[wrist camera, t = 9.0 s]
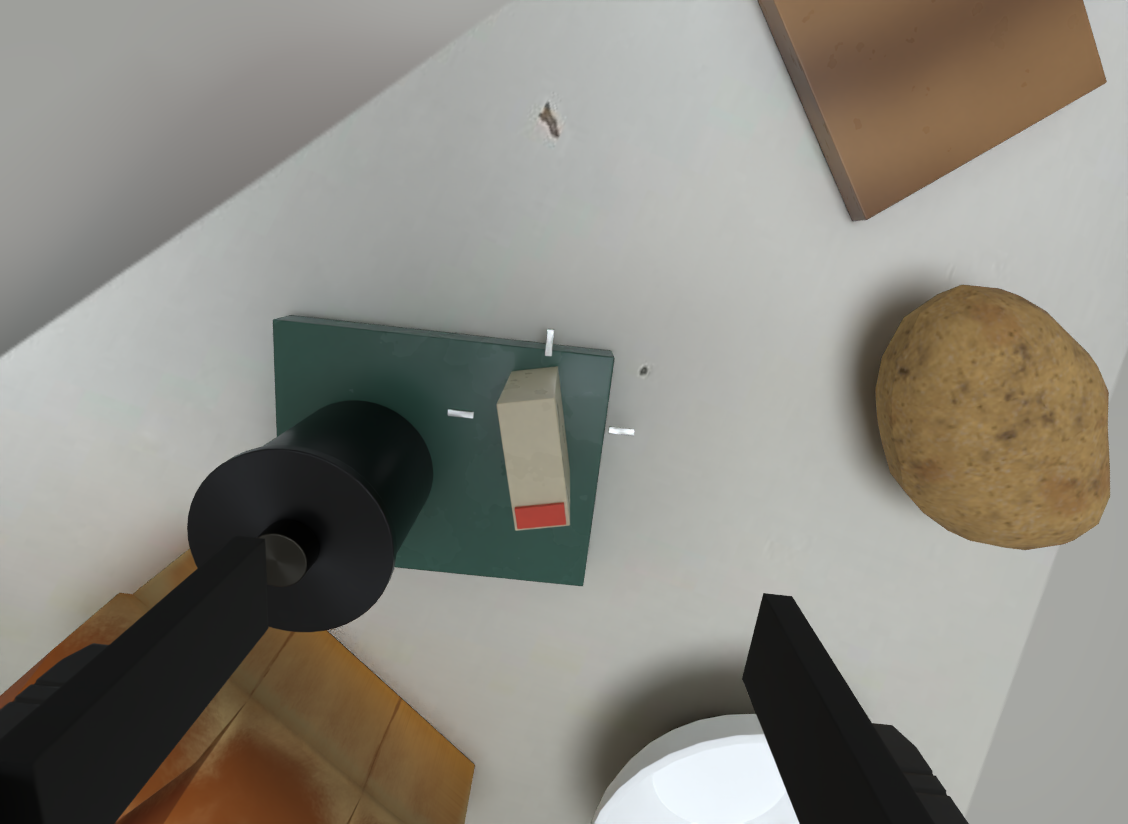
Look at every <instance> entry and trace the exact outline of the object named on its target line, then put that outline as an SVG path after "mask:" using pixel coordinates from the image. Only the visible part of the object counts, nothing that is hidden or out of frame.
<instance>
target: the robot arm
mask: <svg viewBox="0 0 1128 824" xmlns="http://www.w3.org/2000/svg"><path fill="white" fill-rule="evenodd" d="M267 630H268V600H267V573H266V546H265V539H263V538H254V537H245V536H234V537H233V538H232V539H231V540H230V541H229V542H227V543H226V544H225V545H224V546H223V547H222V548H221V549H219V550H218V551H217V552H216V553H215V554H214V555H212V556H211V557H210V558H209V559H208V560H207V561H206V562H204V563H203V564H202V565H201V566H200V567H199V568H197V569H196V570H195V571H194V572H193V573H192V574H190V575H189V576H188V577H187V578H186V579H185V580H184V581H182V582H181V583H180V584H179V585H178V586H177V587H175V588H174V589H173V590H172V591H171V592H170V593H169V594H167V595H166V596H165V597H164V598H163V599H162V600H160V601H159V602H158V603H157V604H156V605H155V606H154V607H152V608H151V609H150V610H149V611H148V612H147V613H145V614H144V615H143V616H142V617H141V618H140V619H138V620H137V621H136V622H135V623H134V624H133V625H132V626H130V627H129V628H128V629H127V630H126V631H125V632H123V633H122V634H121V635H120V636H119V637H118V638H117V639H115V640H114V641H113V642H112V643H111V644H110V645H106V644H96V643H92V644H90V645H88V646H87V647H85V648H83V649H81V650H79V651H77V652H75V653H73V654H71V655H69V656H67V657H65V658H63V659H62V660H60V661H59V662H58V663H57V664H55V665H54V666H53V667H52V668H50V669H49V670H48V671H47V672H45V673H44V674H43V675H42V676H41V677H39V678H38V679H37V680H36V682H35V684H34V685H33V684H31V685H29V686H28V687H27V688H26V689H25V690H23V691H22V692H21V693H20V694H18V695H17V696H16V697H15V699H14V701H13V702H9V703H7V704H6V705H5V706H4V707H2V708H1V709H0V824H115V822H116V821H117V820H118V818H119V817H120V816H121V815H122V813H123V812H124V811H125V810H126V808H127V807H128V806H129V805H130V803H131V802H132V801H133V799H134V798H135V797H136V796H137V794H138V793H139V792H140V791H141V789H142V788H143V787H144V786H145V784H146V783H147V782H148V780H149V779H150V778H151V777H152V775H153V774H154V773H155V772H156V770H157V769H158V768H159V767H160V765H161V764H162V763H163V761H164V760H165V759H166V758H167V756H168V755H169V754H170V753H171V751H172V750H173V749H174V748H175V746H176V745H177V744H178V742H179V741H180V740H181V739H182V737H183V736H184V735H185V734H186V732H187V731H188V730H189V729H190V727H191V726H192V725H193V723H194V722H195V721H196V720H197V718H198V717H199V716H200V715H201V713H202V712H203V711H204V710H205V708H206V707H207V706H208V704H209V703H210V702H211V701H212V699H213V698H214V697H215V696H216V694H217V693H218V692H219V691H220V689H221V688H222V687H223V685H224V684H225V683H226V682H227V680H228V679H229V678H230V677H231V675H232V674H233V673H234V672H235V670H236V669H237V668H238V666H239V665H240V664H241V663H242V661H243V660H244V659H245V658H246V656H247V655H248V654H249V653H250V651H251V650H252V649H253V647H254V646H255V645H256V644H257V642H258V641H259V640H260V639H261V637H262V636H263V635H264V634H265V632H266V631H267ZM742 680H743V682H744V685H745V687H746V690H747V692H748V695H749V697H750V700H751V702H752V705H753V707H754V710H755V712H756V715H757V718H758V720H759V723H760V725H761V728H762V730H763V733H764V735H765V738H766V740H767V743H768V745H769V748H770V750H771V753H772V756H773V758H774V761H775V763H776V766H777V768H778V771H779V773H780V776H781V778H782V781H783V783H784V786H785V788H786V791H787V794H788V796H789V799H790V801H791V804H792V806H793V809H794V811H795V814H796V816H797V819H798V821H799V824H968V822H967V821H966V819H965V818H964V816H963V815H962V813H961V812H960V810H959V809H958V808H957V806H956V805H955V803H954V802H953V800H952V799H951V797H950V796H947V795H946V790H945V789H944V787H943V786H942V784H941V783H940V781H939V780H938V778H937V777H936V776H933V774H932V770H931V768H930V767H929V765H928V764H927V762H926V761H925V760H924V758H923V757H922V755H921V754H920V752H919V751H918V749H917V748H916V747H915V746H914V745H913V744H912V743H911V742H910V741H909V740H908V739H907V738H905V737H904V736H903V735H902V734H901V733H900V732H899V731H898V730H897V729H896V728H895V727H893V726H892V725H884V724H875V723H871V721H870V720H869V718H868V716H867V715H866V713H865V712H864V710H863V708H862V707H861V705H860V704H859V702H858V701H857V699H856V697H855V696H854V694H853V693H852V691H851V689H850V688H849V686H848V685H847V683H846V681H845V680H844V678H843V677H842V675H841V673H840V672H839V670H838V669H837V667H836V666H835V664H834V662H833V661H832V659H831V658H830V656H829V654H828V653H827V651H826V650H825V648H824V646H823V645H822V643H821V642H820V640H819V639H818V637H817V635H816V634H815V632H814V631H813V629H812V627H811V626H810V624H809V623H808V621H807V619H806V618H805V616H804V615H803V613H802V611H801V610H800V608H799V607H798V605H797V604H796V602H795V600H794V599H793V597H792V596H784V595H775V594H765V593H763V597H762V601H761V605H760V609H759V613H758V617H757V621H756V625H755V629H754V633H753V637H752V641H751V645H750V649H749V653H748V657H747V661H746V665H745V669H744V673H743V677H742Z"/></svg>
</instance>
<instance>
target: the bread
mask: <svg viewBox="0 0 1128 824" xmlns="http://www.w3.org/2000/svg"><path fill="white" fill-rule="evenodd" d="M196 569H197V566H196V564H195V562H194V559H193V556H192V554H191V550H190V549H189V550H187V551H186V552H185V553H184V554H182V555H181V556H180V557H179V558H177V559H176V560H175V561H174V562H172V563H171V564H170V565H169V566H167V567H166V568H165V569H164V570H162V571H161V572H160V573H158V574H157V575H156V576H155V577H153V578H152V579H151V580H150V581H148V582H147V583H146V584H145V585H143V586H142V587H141V588H140V589H138V590H137V591H136V592H135V593H133V594H126V593H119V594H117V595H116V596H115V597H114V598H113V599H112V600H110V601H109V602H108V603H107V604H106V605H105V606H103V607H102V608H101V609H100V610H99V611H98V612H96V613H95V614H94V615H93V616H92V617H90V618H89V619H88V620H87V621H86V622H85V623H83V624H82V625H81V626H80V627H79V628H78V629H76V630H75V631H74V632H73V633H72V634H71V635H69V636H68V637H67V638H66V639H65V640H64V641H62V642H61V643H60V644H59V645H58V646H56V647H55V648H54V649H53V650H52V651H51V652H50V653H48V654H47V655H46V656H45V657H44V658H43V659H42V660H40V661H39V662H38V663H37V664H36V665H35V666H34V667H33V668H31V669H30V670H29V671H28V672H27V673H26V674H25V675H23V676H22V677H21V678H20V679H19V680H18V681H17V682H15V683H14V684H13V685H12V686H11V687H10V688H9V689H8V690H6V691H5V692H4V693H3V694H2V695H1V696H0V709H1V708H2V707H4V706H5V705H6V704H7V703H9V702H13V701H14V699H15V697H16V696H17V695H18V694H20V693H21V692H22V691H23V690H25V689H26V688H27V687H28V686H29V685H31V684H33V685H34V684H35V682H36V680H37V679H38V678H39V677H41V676H42V675H43V674H44V673H45V672H47V671H48V670H49V669H50V668H52V667H53V666H54V665H55V664H57V663H58V662H59V661H60V660H62V659H63V658H65V657H67V656H69V655H71V654H73V653H75V652H77V651H79V650H81V649H83V648H85V647H87V646H88V645H90V644H92V643H96V644H106V645H110V644H111V643H112V642H113V641H114V640H115V639H117V638H118V637H119V636H120V635H121V634H122V633H123V632H125V631H126V630H127V629H128V628H129V627H130V626H132V625H133V624H134V623H135V622H136V621H137V620H138V619H140V618H141V617H142V616H143V615H144V614H145V613H147V612H148V611H149V610H150V609H151V608H152V607H154V606H155V605H156V604H157V603H158V602H159V601H160V600H162V599H163V598H164V597H165V596H166V595H167V594H169V593H170V592H171V591H172V590H173V589H174V588H175V587H177V586H178V585H179V584H180V583H181V582H182V581H184V580H185V579H186V578H187V577H188V576H189V575H190V574H192V573H193V572H194V571H195V570H196ZM474 767H475V765H474V764H473V763H472V762H471V761H470V760H469V759H467V758H466V757H465V756H464V755H463V754H462V753H461V752H460V751H459V750H458V749H456V748H455V747H454V746H453V745H452V744H451V743H450V742H449V741H448V740H447V739H445V738H444V737H443V736H442V735H441V734H440V733H439V732H438V731H437V730H436V729H434V728H433V727H432V726H431V725H430V724H429V723H428V722H427V721H426V720H425V719H423V718H422V717H421V716H420V715H419V714H418V713H417V712H416V711H415V710H414V709H412V708H411V707H410V706H409V705H408V704H407V703H406V702H405V701H404V700H402V699H401V698H400V697H399V696H398V695H397V694H396V693H395V692H394V691H393V690H391V689H390V688H389V687H388V686H387V685H386V684H385V683H384V682H383V681H382V680H380V679H379V678H378V677H377V676H376V675H375V674H374V673H373V672H372V671H371V670H369V669H368V668H367V667H366V666H365V665H364V664H363V663H362V662H361V661H360V660H358V659H357V658H356V657H355V656H354V655H353V654H352V653H351V652H350V651H349V650H347V649H346V648H345V647H344V646H343V645H342V644H341V643H340V642H339V641H337V640H336V639H335V638H334V637H333V636H332V635H331V634H330V633H329V632H328V631H326V630H325V631H318V632H291V631H284V630H279V629H275V628H271V627H268V630H267V631H266V632H265V634H264V635H263V636H262V637H261V639H260V640H259V641H258V642H257V644H256V645H255V646H254V647H253V649H252V650H251V651H250V653H249V654H248V655H247V656H246V658H245V659H244V660H243V661H242V663H241V664H240V665H239V666H238V668H237V669H236V670H235V672H234V673H233V674H232V675H231V677H230V678H229V679H228V680H227V682H226V683H225V684H224V685H223V687H222V688H221V689H220V691H219V692H218V693H217V694H216V696H215V697H214V698H213V699H212V701H211V702H210V703H209V704H208V706H207V707H206V708H205V710H204V711H203V712H202V713H201V715H200V716H199V717H198V718H197V720H196V721H195V722H194V723H193V725H192V726H191V727H190V729H189V730H188V731H187V732H186V734H185V735H184V736H183V737H182V739H181V740H180V741H179V742H178V744H177V745H176V746H175V748H174V749H173V750H172V751H171V753H170V754H169V755H168V756H167V758H166V759H165V760H164V761H163V763H162V764H161V765H160V767H159V768H158V769H157V770H156V772H155V773H154V774H153V775H152V777H151V778H150V779H149V780H148V782H147V783H146V784H145V786H144V787H143V788H142V789H141V791H140V792H139V793H138V794H137V796H136V797H135V798H134V799H133V801H132V802H131V803H130V805H129V806H128V807H127V808H126V810H125V811H124V812H123V813H122V815H121V816H120V817H119V818H118V820H117V821H116V822H115V824H464V823H465V817H466V812H467V806H468V800H469V795H470V789H471V784H472V778H473V773H474Z"/></svg>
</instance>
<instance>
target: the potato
mask: <svg viewBox="0 0 1128 824" xmlns="http://www.w3.org/2000/svg"><path fill="white" fill-rule="evenodd" d="M875 394H876V409H877V420H878V425H879V430H880V436H881V441H882V446H883V449H884V453H885V456H886V459H887V463H888V466H889V470H890V473H891V474H892V476H893V477H894V478H895V480H896V481H897V482H898V483H899V485H900V486H901V487H902V489H903V490H904V491H905V492H906V493H907V495H908V496H909V497H910V498H911V499H912V500H913V501H914V503H915V504H916V505H917V506H918V507H919V508H920V510H921V511H922V512H923V513H924V514H926V515H927V516H929V517H930V518H931V519H933V520H934V521H935V522H937V523H938V524H940V525H941V526H942V527H944V528H945V529H946V530H948V531H950V532H952V533H955V534H957V535H959V536H961V537H963V538H966V539H968V540H970V541H975V542H980V543H985V544H990V545H995V546H1000V547H1005V548H1013V549H1022V550H1029V549H1035V548H1042V547H1048V546H1055V545H1061V544H1065V543H1068V542H1070V541H1073V540H1075V539H1076V538H1078V537H1079V536H1081V535H1082V534H1084V533H1086V532H1087V531H1089V530H1090V529H1092V528H1093V527H1094V526H1096V525H1097V524H1099V521H1100V519H1101V516H1102V514H1103V512H1104V509H1105V507H1106V505H1107V502H1108V500H1109V498H1110V463H1109V443H1108V395H1109V392H1108V390H1107V387H1106V385H1105V383H1104V380H1103V378H1102V375H1101V373H1100V371H1099V368H1098V366H1097V365H1096V363H1095V362H1094V360H1093V359H1092V357H1091V356H1090V355H1089V353H1088V352H1087V351H1086V350H1085V349H1084V348H1083V347H1082V346H1081V345H1080V344H1079V343H1077V342H1076V341H1075V340H1074V339H1073V338H1072V337H1071V336H1070V335H1069V334H1068V333H1067V332H1066V331H1065V330H1064V329H1063V328H1062V327H1061V326H1060V325H1059V324H1058V323H1057V322H1056V321H1055V320H1054V319H1053V318H1052V317H1051V316H1050V315H1049V314H1048V313H1047V312H1046V311H1045V310H1043V309H1041V308H1040V307H1038V306H1036V305H1035V304H1033V303H1031V302H1029V301H1028V300H1026V299H1024V298H1023V297H1021V296H1019V295H1016V294H1013V293H1010V292H1007V291H1004V290H1002V289H999V288H989V287H980V286H970V285H960V286H957V287H955V288H952V289H950V290H947V291H945V292H942V293H940V294H937V295H936V296H934V297H933V298H931V299H930V300H929V301H927V302H926V303H924V304H923V305H921V306H920V307H918V308H917V309H915V310H914V311H912V312H911V313H910V314H908V315H907V316H905V317H904V318H903V320H902V321H901V323H900V325H899V327H898V329H897V330H896V332H895V334H894V336H893V338H892V339H891V341H890V343H889V345H888V347H887V348H886V350H885V352H884V354H883V356H882V359H881V364H880V369H879V374H878V379H877V384H876V389H875Z"/></svg>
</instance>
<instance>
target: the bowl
mask: <svg viewBox="0 0 1128 824" xmlns="http://www.w3.org/2000/svg"><path fill="white" fill-rule="evenodd" d="M591 824H799V821H798V819H797V816H796V814H795V811H794V809H793V806H792V804H791V801H790V799H789V796H788V794H787V791H786V788H785V786H784V783H783V781H782V778H781V776H780V773H779V771H778V768H777V766H776V763H775V761H774V758H773V756H772V753H771V750H770V748H769V745H768V743H767V740H766V738H765V735H764V733H763V730H762V728H761V725H760V723H759V720H758V718H757V715H756V714H738V715H723V716H718V717H713V718H708V719H703V720H698V721H695V722H692V723H690V724H687V725H684V726H682V727H679V728H676V729H674V730H671V731H670V732H668V733H666V734H664V735H663V736H661V737H659V738H657V739H656V740H654V741H652V742H650V743H649V744H648V745H647V746H645V747H644V748H643V749H642V750H641V751H640V752H638V753H637V754H636V755H635V756H634V757H632V758H631V759H630V760H629V762H628V763H627V764H626V765H625V766H624V767H623V768H622V770H621V771H620V772H619V774H618V775H617V776H616V777H615V779H614V780H613V781H612V782H611V784H610V785H609V786H608V787H607V789H606V791H605V793H604V795H603V797H602V799H601V801H600V803H599V805H598V807H597V809H596V812H595V814H594V817H593V819H592V822H591Z"/></svg>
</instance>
